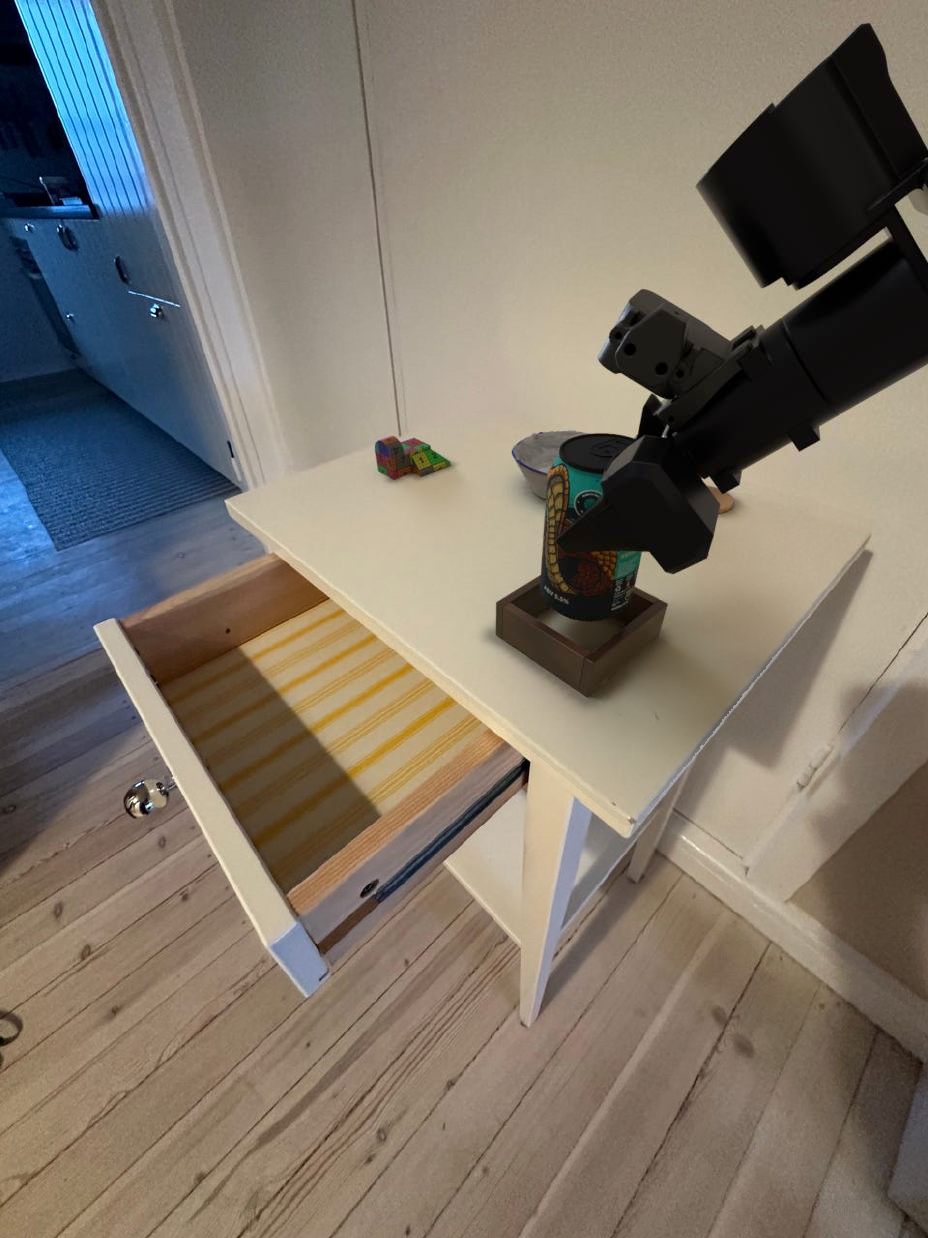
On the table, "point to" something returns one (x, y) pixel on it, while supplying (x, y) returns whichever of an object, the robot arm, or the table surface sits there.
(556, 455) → the bowl
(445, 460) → the numbered block arch
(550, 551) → the beverage can
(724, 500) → the coaster
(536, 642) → the tray
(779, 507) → the table surface
